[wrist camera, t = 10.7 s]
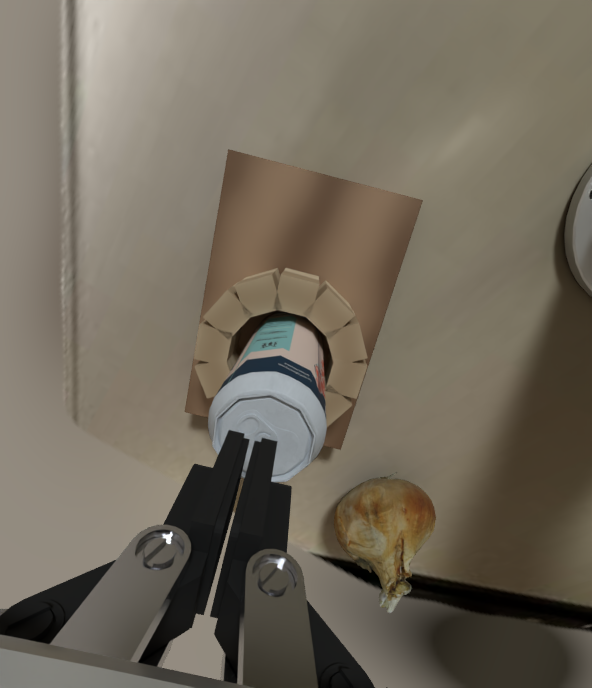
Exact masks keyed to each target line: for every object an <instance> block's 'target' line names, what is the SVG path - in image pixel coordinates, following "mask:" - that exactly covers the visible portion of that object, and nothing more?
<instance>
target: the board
mask: <svg viewBox="0 0 592 688" xmlns="http://www.w3.org/2000/svg"><path fill="white" fill-rule="evenodd" d="M422 201H423V200H420V199H416V198H412V197H408V196H404V195H401V194H397V193H393V192H389V191H385V190H381V189H378V188H374V187H370V186H366V185H362V184H359V183H355V182H351V181H347V180H343V179H339V178H336V177H332V176H328V175H324V174H320V173H317V172H313V171H309V170H305V169H301V168H297V167H294V166H290V165H286V164H282V163H278V162H275V161H271V160H267V159H263V158H259V157H256V156H252V155H248V154H244V153H240V152H236V151H233V150H229V149H228V155H227V161H226V167H225V173H224V179H223V185H222V191H221V197H220V203H219V209H218V215H217V221H216V227H215V233H214V239H213V245H212V251H211V257H210V263H209V269H208V275H207V281H206V287H205V293H204V299H203V305H202V311H201V317H200V323H199V329H198V335H197V341H196V347H195V353H194V359H193V365H192V371H191V377H190V383H189V389H188V395H187V401H186V407H185V412H187V413H191V414H195V415H199V416H204V417H209V410H210V407H211V405H212V402H213V399H214V398H215V396H216V394H217V393H218V391H219V389H220V388H221V386H222V384H223V383H224V381H225V379H226V378H227V376H228V374H229V373H230V371H231V369H232V368H233V366H234V364H235V363H236V361H237V359H238V358H239V356H240V354H241V353H242V351H243V349H244V348H245V346H246V344H247V343H248V341H249V339H250V338H251V336H252V335H253V333H254V331H255V330H256V328H257V327H258V326H259V324H260V323H261V322H262V321H263V320H264V319H266V318H267V317H268V316H270V315H272V314H275V313H278V312H288V313H292V314H296V315H300V316H304V317H306V318H307V319H309V320H310V321H311V322H312V323H313V324H314V325H315V326H316V327H317V329H318V331H319V332H320V335H321V338H322V342H323V361H324V381H325V402H326V423H327V430H326V436H325V441H324V444H323V446H328V447H332V448H336V449H340V450H341V447H342V444H343V441H344V438H345V435H346V432H347V429H348V426H349V422H350V419H351V416H352V413H353V410H354V407H355V404H356V401H357V398H358V395H359V392H360V389H361V386H362V383H363V380H364V377H365V374H366V371H367V368H368V365H369V362H370V359H371V356H372V353H373V350H374V347H375V344H376V341H377V338H378V335H379V332H380V329H381V326H382V323H383V319H384V316H385V313H386V310H387V307H388V304H389V301H390V298H391V295H392V292H393V289H394V286H395V283H396V280H397V277H398V274H399V271H400V268H401V265H402V262H403V259H404V256H405V253H406V250H407V247H408V244H409V241H410V238H411V235H412V232H413V229H414V226H415V223H416V220H417V216H418V213H419V210H420V207H421V204H422Z"/></svg>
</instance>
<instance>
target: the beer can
mask: <svg viewBox="0 0 592 688" xmlns="http://www.w3.org/2000/svg"><path fill="white" fill-rule="evenodd" d="M208 429H209V435H210V438H211V440H212V442H213V445H212V446H213V448H214V449H215V451H216V452H217V454H218V455H219V452H220V450H221V448H222V445H223V443H224V440H225V438H226V435H227V433H228V431H229V430H232V431H236V432H240V433H245V435H244V438H246V439H250V441H249V445H248V449H247V453H246V458H245V462H244V466H243V470H242V475H241V477H242V478H245V475H246V471H247V467H248V464H249V460H250V456H251V453H252V449H253V445H254V441H259V442H261V440H262V438H266V439H270V440H274V441H277V448H276V454H275V460H274V467H273V473H272V479H271V482H285V481H288V480H289V479H291V478H292V477H293V476H294V475H296V474H297V473H298V472H300V471H301V470H302V469H304V468H305V467H307V466H308V465H309V464H310V463H311V462H312V461H313V460H314V459H315V458H316V457H317V455H318V454H319V452H320V450H321V448H322V447H323V444H324V441H325V436H326V430H327V423H326V402H325V381H324V361H323V342H322V338H321V335H320V332H319V331H318V329H317V327H316V326H315V325H314V324H313V323H312V322H311V321H310V320H309V319H307V318H306V317H304V316H300V315H296V314H292V313H288V312H278V313H275V314H272V315H270V316H268V317H267V318H266V319H264V320H263V321H262V322H261V323H260V324H259V326H258V327H257V328H256V330H255V331H254V333H253V335H252V336H251V338H250V339H249V341H248V343H247V344H246V346H245V348H244V349H243V351H242V353H241V354H240V356H239V358H238V359H237V361H236V363H235V364H234V366H233V368H232V369H231V371H230V373H229V374H228V376H227V378H226V379H225V381H224V383H223V384H222V386H221V388H220V389H219V391H218V393H217V394H216V396H215V398H214V399H213V402H212V405H211V407H210V410H209V417H208Z"/></svg>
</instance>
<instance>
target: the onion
mask: <svg viewBox="0 0 592 688" xmlns="http://www.w3.org/2000/svg"><path fill="white" fill-rule="evenodd" d="M395 474H396V473H394V474H393V475H395ZM393 475H391V476H393ZM391 476H389V477H391ZM389 477H380V478H376V479H370V480H368V481H366V482H363V483H361V484H359V485H358V486H356V487H355V488H354V489H352V490H351V491H350V492H349V493H348V494H347V495H346V496H345V497H344V498H343V499H342V500H341V501H340V503H339V505H338V506H337V508H336V511H335V517H334V528H335V532H336V536H337V539H338V541H339V543H340V545H341V547H342V548H343V549H344V551H345V552H346V553H347V554H348V555H349V556H350V557H351V558H352V559H353V560H355V561H356V563H357V564H358V566H361V567H362V568H364V569H367V570H368V571H369V572H370V573H371V571H372V569H373V570H374V571H375V573H376V574H377V575H378V576H379V579H380V582H381V585H382V588H383V589H382V591H381V593H380V594H379V604H380V607H382V608H383V607H386V608H387V612H388V613H391V612H392V611H393V610H394V609H395V607H396V605H397V603H398V601H399V600H400V598H401V597H402V596H403V595H406V594H407V593H409V592H410V591H411V585H410V584H409V583H408V582H407V581H405V579H406V578H407V577H411V576H412V572H411V571H410V570H409V565H410V562H411V560H412V558H413V557H414V556H415V555H416V553H417V552H418V550H419V549H420V548H421V547H422V546H423V544H424V543H425V542H426V541H427V540H428V539H429V537H430V536H431V534H432V532H433V531H434V526H435V520H436V515H435V510H434V506H433V504H432V501H431V499H430V498H429V496H428V495H427V494H426V493H425V492H424V491H423V490H422V489H421V488H419V487H418V486H416V485H414V484H412V483H410V482H408V481H405V480H400V479H390V478H389Z"/></svg>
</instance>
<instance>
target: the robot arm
mask: <svg viewBox="0 0 592 688" xmlns="http://www.w3.org/2000/svg"><path fill="white" fill-rule="evenodd" d="M589 195H590V197H589ZM564 239H565V252H566V257H567V260H568V263H569V267H570V270H571V272H572V273H573V275H574V277H575V279H576V280H577V282H578V284H579V285H580V286H581V287H582V288H583V289H584V290H585V291H586V292H587V293H588V294H589V295H590V296H591V297H592V165H591V166H590V167H589V169H588V170H587V172H586V173H585V175H584V176H583V177H582V179H581V181H580V183H579V185H578V187H577V189H576V191H575V193H574V195H573V198H572V201H571V204H570V207H569V210H568V214H567V217H566V226H565V234H564ZM244 435H245V433H240V432H236V431H232V430H229V431H228V433H227V435H226V438H225V440H224V443H223V445H222V448H221V450H220V452H219V455H218V457H217V460H216V462H215V465H214V467H213V468H211V467H206V466H202V465H198V464H194V465H193V467H192V469H191V471H190V473H189V475H188V477H187V479H186V480H185V482H184V484H183V486H182V489H181V490H180V492H179V495H178V497H177V498H176V500H175V503H174V504H173V506H172V509H171V511H170V512H169V514H168V516H167V519H166V520H165V522H164V524H163V525H156V526H152V527H149V528H147V529H145V530H143V531H141V532H140V533H139V534H138V535H137V536H136V537H134V538H133V540H132V541H131V542H130V543H129V545H128V546H127V547H126V549H125V550H124V551H123V552H122V553H121V555H120V556H119V557H118V559H117V560H114V561H112V562H110V563H107V564H105V565H103V566H101V567H98V568H96V569H94V570H91V571H89V572H87V573H84V574H82V575H80V576H77V577H75V578H73V579H70V580H68V581H66V582H63V583H61V584H59V585H56V586H54V587H52V588H49V589H47V590H45V591H42V592H40V593H38V594H35V595H33V596H31V597H28V598H26V599H24V600H22V601H20V602H19V603H17V604H15V605H13V606H11V607H10V608H9V609H0V688H375V687H374V685H373V683H372V682H371V680H370V679H369V677H368V676H367V674H366V673H365V671H364V670H363V669H362V668H361V666H360V665H359V664H358V663H357V661H356V660H355V659H354V658H353V657H352V655H351V654H350V653H349V652H348V650H347V649H346V648H345V647H344V645H343V644H342V643H341V642H340V640H339V639H338V638H337V637H336V635H335V634H334V633H333V632H332V631H331V629H330V628H329V627H328V626H327V625H326V623H325V622H324V621H323V619H322V618H321V617H320V616H319V614H318V613H317V612H316V611H315V609H314V608H313V607H312V606H311V605H310V603H309V602H308V601H307V599H306V592H305V585H304V577H303V573H302V570H301V567H300V566H299V564H298V563H297V561H296V560H295V559H294V558H293V557H292V556H290V555H289V554H287V542H288V529H289V516H290V503H291V486H288V485H284V484H279V483H275V482H271V479H272V473H273V467H274V460H275V454H276V448H277V441H274V440H270V439H266V438H262V440H261V442H259V441H254V445H253V449H252V453H251V456H250V460H249V464H248V467H247V471H246V475H245V479H244V482H243V486H242V490H241V493H240V497H239V501H238V505H237V508H236V512H235V516H234V519H233V523H232V527H231V531H230V535H229V539H228V544H227V548H226V552H225V556H224V560H223V564H222V568H221V573H220V577H219V581H218V585H217V589H216V593H215V598H214V602H213V606H212V611H211V615H210V616H211V617H215V618H218V620H217V624H216V629H215V633H214V634H215V637H216V638H217V640H218V642H219V644H220V645H221V647H222V649H223V651H224V654H223V659H222V667H221V680H216V679H212V678H207V677H202V676H198V675H193V674H188V673H183V672H179V671H174V670H169V669H165V668H161V667H162V665H163V663H164V661H165V659H166V657H167V655H168V653H169V651H170V648H171V645H172V642H173V639H174V638H176V637H178V636H179V635H181V634H182V633H184V632H185V631H187V630H189V628H192V625H193V622H194V618H195V615H196V613H197V614H201V615H204V611H205V608H206V605H207V601H208V597H209V594H210V591H211V587H212V583H213V580H214V576H215V573H216V569H217V565H218V562H219V558H220V555H221V551H222V548H223V544H224V540H225V537H226V533H227V530H228V526H229V523H230V519H231V516H232V512H233V508H234V504H235V500H236V496H237V492H238V487H239V483H240V479H241V475H242V470H243V466H244V462H245V458H246V453H247V449H248V445H249V441H250V439H246V438H244Z"/></svg>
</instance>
